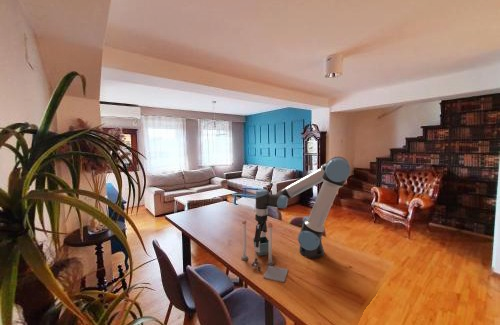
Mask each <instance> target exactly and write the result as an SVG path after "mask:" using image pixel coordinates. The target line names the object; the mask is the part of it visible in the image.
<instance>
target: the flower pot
mask: <svg viewBox="0 0 500 325" xmlns="http://www.w3.org/2000/svg"><path fill="white" fill-rule="evenodd" d="M254 239H255V237H253V238H252V241H253V247H254V248H255V242H254ZM268 242H269V238H268V237H267V236H266V237H262V236H260V252H256V254H257V255H258V256H259V257H260V256H266V255H268Z"/></svg>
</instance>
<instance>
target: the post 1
mask: <svg viewBox="0 0 500 325" xmlns="http://www.w3.org/2000/svg"><path fill="white" fill-rule="evenodd" d="M241 222H242V256H241V257H240V258H241V261H247V260H249V257H248V256H247V220H246V219H243V220H242V221H241Z"/></svg>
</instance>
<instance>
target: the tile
mask: <svg viewBox="0 0 500 325" xmlns="http://www.w3.org/2000/svg"><path fill="white" fill-rule="evenodd" d="M288 271H289V268H283V267H278V266H273V265H272V266H269V265H267V269H266V271H265V273H264V275H263V279H266V280H271V281H275V282H279V283H285V282H286V278H287V275H288Z"/></svg>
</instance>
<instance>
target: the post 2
mask: <svg viewBox="0 0 500 325" xmlns="http://www.w3.org/2000/svg"><path fill="white" fill-rule="evenodd" d="M273 226H274V225H273V224H272V223H271V222H270V223H268V224H267V228H268V240H269V242H268V253H267V255H268V258H267V261H266V265H267V266H273V265H274V261H273Z"/></svg>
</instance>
